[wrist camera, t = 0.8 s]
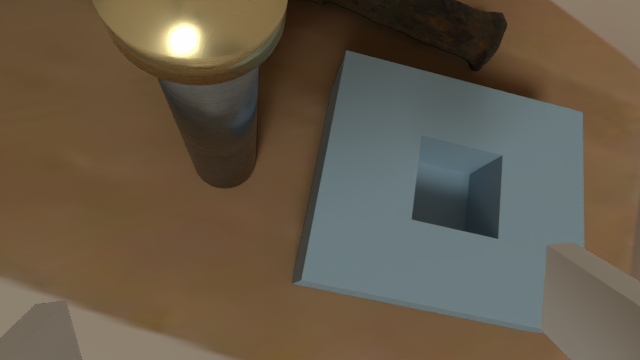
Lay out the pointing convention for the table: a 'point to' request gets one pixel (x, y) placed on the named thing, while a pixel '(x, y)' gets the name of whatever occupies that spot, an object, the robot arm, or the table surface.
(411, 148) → the socket block
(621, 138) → the table surface
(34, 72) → the table surface
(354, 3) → the dark brown wooden club
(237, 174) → the pin
